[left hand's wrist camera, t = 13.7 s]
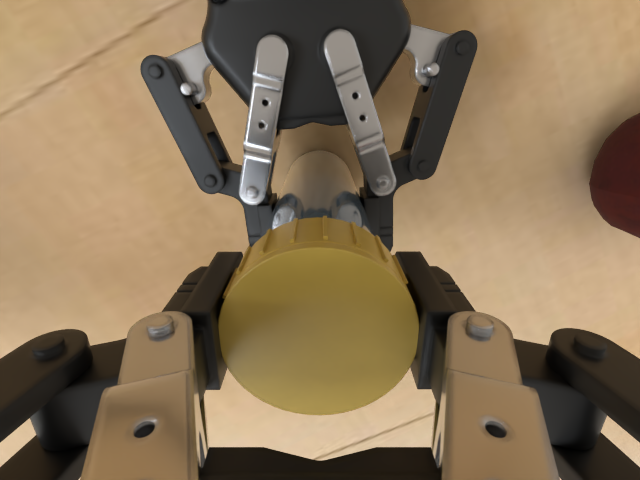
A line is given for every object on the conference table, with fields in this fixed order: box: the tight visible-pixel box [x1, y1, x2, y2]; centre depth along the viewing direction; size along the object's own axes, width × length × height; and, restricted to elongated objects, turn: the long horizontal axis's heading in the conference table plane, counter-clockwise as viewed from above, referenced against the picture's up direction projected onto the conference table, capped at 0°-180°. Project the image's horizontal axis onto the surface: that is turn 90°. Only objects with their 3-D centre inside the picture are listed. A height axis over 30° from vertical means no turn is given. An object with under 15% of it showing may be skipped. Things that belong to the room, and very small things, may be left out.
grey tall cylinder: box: [263, 150, 375, 236], centre depth 17 cm, size 4×4×16 cm
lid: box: [218, 216, 419, 415], centre depth 10 cm, size 5×5×2 cm
